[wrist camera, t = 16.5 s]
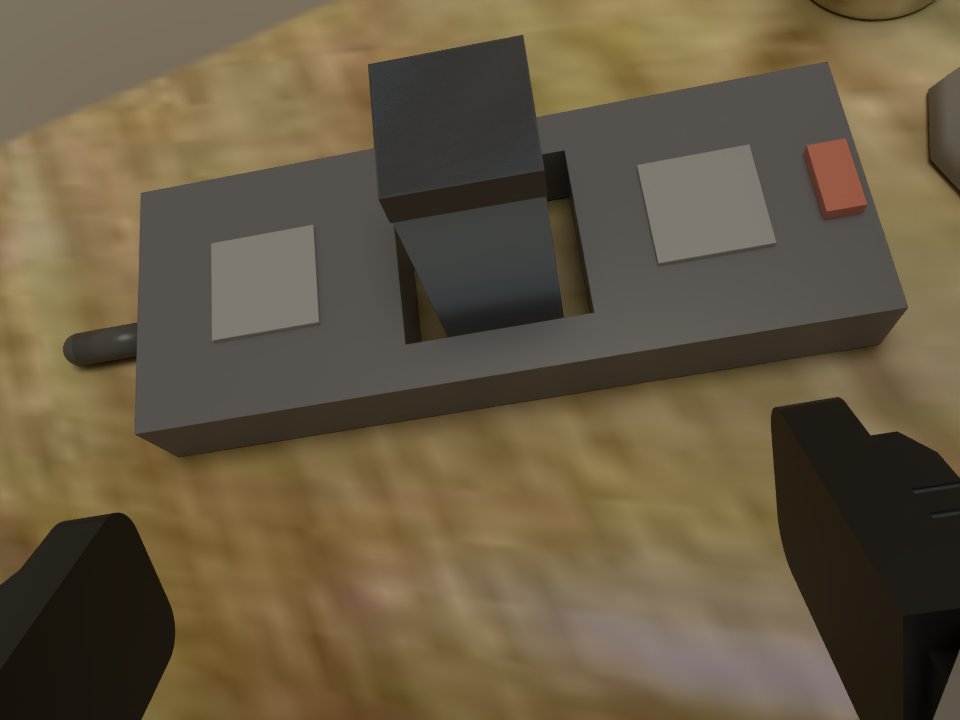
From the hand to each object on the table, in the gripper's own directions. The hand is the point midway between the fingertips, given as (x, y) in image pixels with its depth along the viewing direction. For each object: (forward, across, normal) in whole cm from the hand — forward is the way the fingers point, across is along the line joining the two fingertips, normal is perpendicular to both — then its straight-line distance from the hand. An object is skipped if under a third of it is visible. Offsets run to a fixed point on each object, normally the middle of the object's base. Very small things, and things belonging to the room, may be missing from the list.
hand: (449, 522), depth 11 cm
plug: (+20, 0, +4) cm, 21 cm away
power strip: (+20, +2, +4) cm, 21 cm away
